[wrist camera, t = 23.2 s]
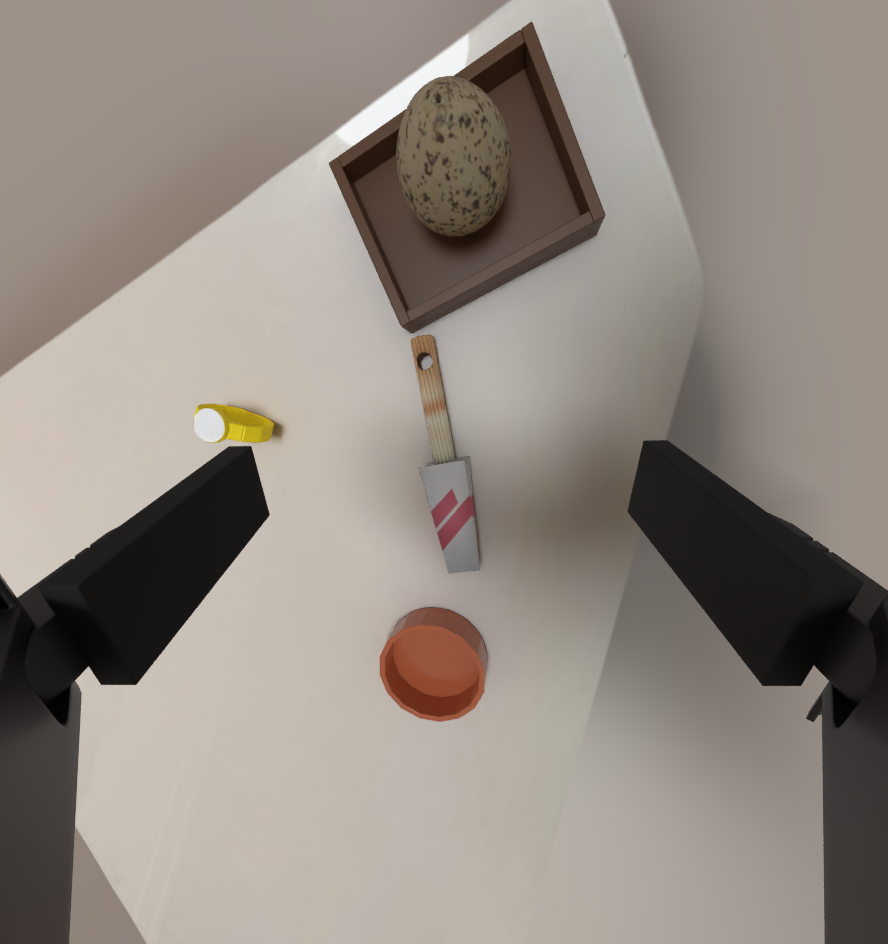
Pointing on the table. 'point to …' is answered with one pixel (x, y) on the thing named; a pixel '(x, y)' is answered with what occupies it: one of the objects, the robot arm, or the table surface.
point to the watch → (230, 424)
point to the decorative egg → (453, 156)
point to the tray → (518, 219)
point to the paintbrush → (446, 470)
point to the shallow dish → (434, 664)
